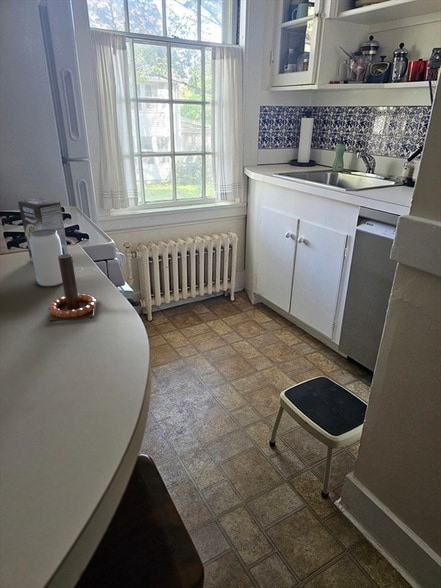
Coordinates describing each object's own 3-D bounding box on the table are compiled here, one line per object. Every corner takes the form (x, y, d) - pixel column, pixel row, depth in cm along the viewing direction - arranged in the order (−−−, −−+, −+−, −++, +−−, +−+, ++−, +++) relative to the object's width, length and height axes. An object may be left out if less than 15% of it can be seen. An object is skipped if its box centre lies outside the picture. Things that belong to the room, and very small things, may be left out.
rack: (56, 306, 81) (46, 250, 76) (96, 302, 82) (88, 248, 77) (49, 324, 74) (37, 264, 69) (93, 320, 75) (85, 261, 70)
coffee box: (29, 261, 105) (16, 201, 99) (50, 255, 110) (39, 197, 103) (49, 268, 101) (37, 205, 94) (70, 261, 105) (60, 201, 99)
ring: (53, 301, 81) (52, 295, 80) (98, 297, 82) (97, 291, 82) (45, 321, 73) (44, 314, 72) (95, 316, 75) (94, 310, 74)
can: (31, 284, 91) (20, 234, 86) (51, 275, 96) (42, 227, 91) (53, 288, 89) (43, 237, 84) (72, 278, 94) (64, 230, 89)
